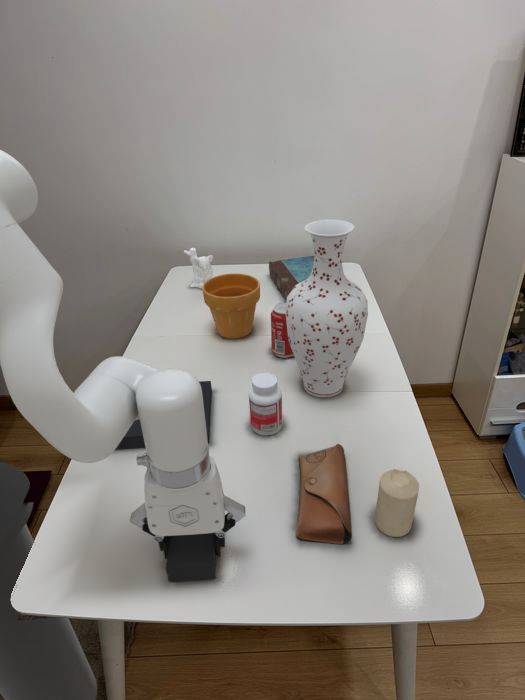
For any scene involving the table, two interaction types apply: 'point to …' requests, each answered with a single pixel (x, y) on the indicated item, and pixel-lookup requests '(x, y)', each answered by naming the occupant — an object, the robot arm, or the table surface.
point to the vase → (326, 313)
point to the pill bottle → (265, 404)
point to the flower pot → (232, 303)
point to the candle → (396, 502)
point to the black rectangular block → (191, 557)
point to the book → (290, 272)
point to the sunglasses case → (324, 497)
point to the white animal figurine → (200, 268)
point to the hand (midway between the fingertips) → (193, 548)
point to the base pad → (135, 431)
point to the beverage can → (280, 332)
